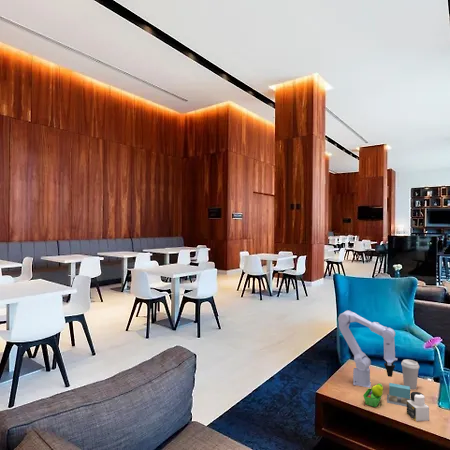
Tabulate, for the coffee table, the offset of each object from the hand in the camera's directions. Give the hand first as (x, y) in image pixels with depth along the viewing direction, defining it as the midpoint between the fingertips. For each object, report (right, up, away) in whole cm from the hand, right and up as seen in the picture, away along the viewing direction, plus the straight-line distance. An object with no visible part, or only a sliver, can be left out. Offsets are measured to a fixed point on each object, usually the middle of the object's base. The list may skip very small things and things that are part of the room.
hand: (389, 373), depth 193 cm
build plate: (0, -10, -11) cm, 15 cm away
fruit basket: (-15, -11, -13) cm, 22 cm away
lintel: (0, -7, -11) cm, 13 cm away
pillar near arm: (-3, -10, -10) cm, 14 cm away
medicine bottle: (+1, -10, -26) cm, 28 cm away
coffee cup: (+14, -11, +5) cm, 19 cm away
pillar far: (+2, -10, -12) cm, 16 cm away
